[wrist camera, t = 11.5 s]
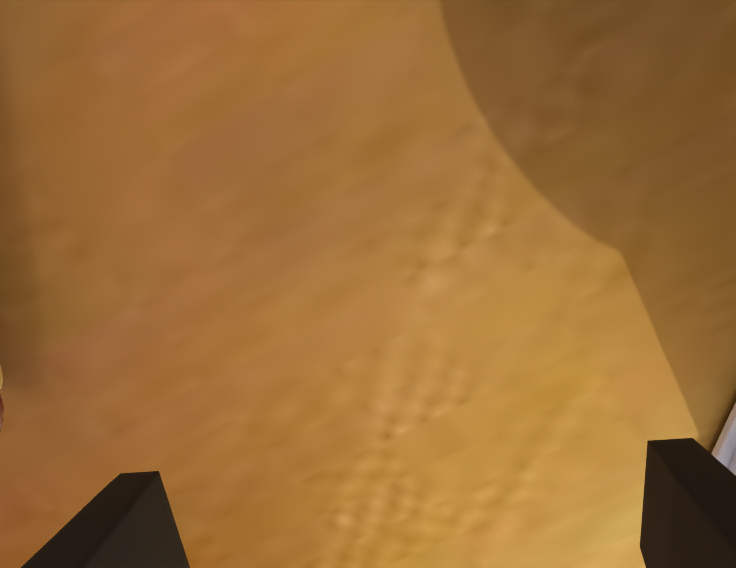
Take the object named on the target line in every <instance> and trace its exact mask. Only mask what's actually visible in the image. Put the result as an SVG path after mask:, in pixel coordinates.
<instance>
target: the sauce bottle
mask: <svg viewBox="0 0 736 568" xmlns="http://www.w3.org/2000/svg"><path fill="white" fill-rule="evenodd" d="M2 382H3V376H2V369H1V364H0V390H1V386H2ZM3 412H4V406H3V402H2V399H1V396H0V430H1V426H2V421H3Z"/></svg>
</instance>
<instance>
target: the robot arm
mask: <svg viewBox="0 0 736 568" xmlns="http://www.w3.org/2000/svg"><path fill="white" fill-rule="evenodd" d="M640 549H641V552H642V555H643V559H644V562H645V566H646V568H736V402H735V404H734V406H733V409H732V411H731V413H730V415H729V417H728V419H727V421H726V424H725V426H724V428H723V430H722V432H721V434H720V436H719V438H718V441H717V443H716V445H715V447H714V449H713V451H712V453H711V454H710V453H709V452H708V451H707V450H706V449H705V448H703V447H702V446H701V445H700V444H699V443H698V442H696V441H695V440H694V439H693V438H685V439H669V440H653V441H648V444H647V458H646V471H645V485H644V498H643V512H642V525H641V539H640ZM21 568H190V567H189V564H188V560H187V557H186V554H185V551H184V548H183V545H182V542H181V539H180V536H179V532H178V529H177V526H176V523H175V520H174V517H173V514H172V511H171V508H170V504H169V501H168V498H167V495H166V492H165V489H164V486H163V483H162V480H161V477H160V473H159V471H153V472H137V473H121V474H119V475H118V476H117V477H116V478H115V479H114V480H113V481H112V482H110V483H109V484H108V485H107V486H106V487H105V488H104V489H103V490H102V491H101V492H100V493H99V494H97V495H96V496H95V497H94V498H93V499H92V500H91V501H90V502H89V503H88V504H87V505H86V506H85V507H84V508H83V509H82V510H81V511H80V512H79V513H78V514H77V515H76V516H75V517H73V518H72V519H71V520H70V521H69V522H68V523H67V524H66V525H65V526H64V527H63V528H62V529H61V530H60V531H59V532H58V533H57V534H56V535H55V536H54V537H53V538H52V539H51V540H50V541H49V542H47V543H46V544H45V545H44V546H43V547H42V548H41V549H40V550H39V551H38V552H37V553H36V554H35V555H34V556H33V557H32V558H31V559H29V560H28V561H27V562H26V563H25V564H24V565H23V566H22V567H21Z"/></svg>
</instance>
